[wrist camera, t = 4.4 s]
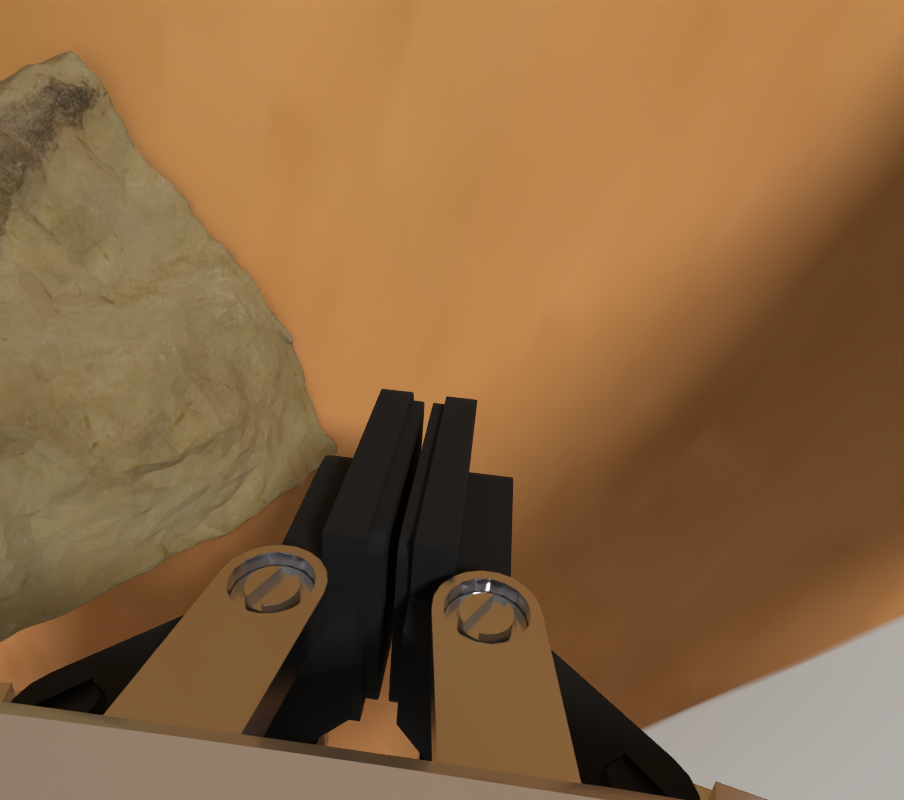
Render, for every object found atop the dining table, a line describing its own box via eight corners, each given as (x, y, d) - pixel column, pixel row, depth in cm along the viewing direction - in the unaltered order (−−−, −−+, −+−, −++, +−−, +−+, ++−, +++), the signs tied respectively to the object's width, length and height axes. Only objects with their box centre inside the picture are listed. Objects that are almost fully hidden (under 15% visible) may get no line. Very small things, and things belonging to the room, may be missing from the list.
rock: (-236, -2, 13) (-146, 465, 17) (-478, -52, 6) (-239, 739, 10) (313, 94, 19) (289, 425, 22) (486, 121, 12) (410, 583, 16)
